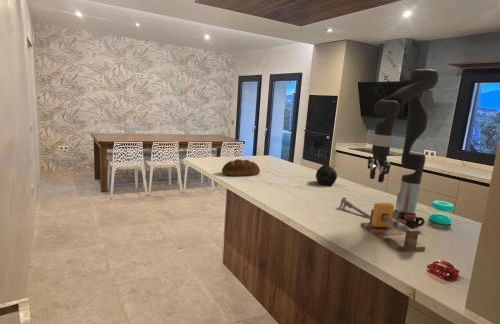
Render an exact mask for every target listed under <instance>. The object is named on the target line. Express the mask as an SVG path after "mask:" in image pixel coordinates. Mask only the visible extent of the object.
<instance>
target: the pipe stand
mask: <svg viewBox="0 0 500 324" xmlns="http://www.w3.org/2000/svg"><path fill="white" fill-rule="evenodd" d="M373 210H374V208H372V209H371V212H370V215H371V217H370V218H369V222H361V224H360V226H361V227H362V228H363V229H365V230H367V231H368V232H369V233H370V234H373V235H374V236H376V237H377V238H378V239H380V240H381V241H383V242H384V243H385V244H388V245H389V246H390V247H392V248H393V249H394V250H395V251H398V252H399V253H401V252H414V251H415V252H418V251H420V252H421V251H425V250H426V246H425V245H423V244H421V243H420V242H418V236H419V232H420V231H419V230H418V229H417V228H415V229H411V228H409V227H407V226H405V225H403V224H404V223H401V222H400V221H399V220H396V219H394V218H393V217H392V218H391V217H389V216H387V215H385V214H382V216H381V218H382V219H383V220H385V221H387V222H388V223H390V224H391V226H386V227H375V226H373V225H372V224H371V223H372V216H373ZM394 227H395V228H394ZM396 228H397V229H396ZM398 229H399V230H401V231H402V232H401V231H399V230H398ZM403 232H404V233H403Z"/></svg>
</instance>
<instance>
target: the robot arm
mask: <svg viewBox="0 0 500 324" xmlns="http://www.w3.org/2000/svg"><path fill="white" fill-rule="evenodd" d="M438 80H439V73H438V71H436V70H435V69H431V68H430V69H428V68H427V69H425V68H424V69H423V68H422V69H421V68H419V69H414V70H413V71H412V72H411V74H410V79H409V85H408V84H407V85H405V86H403V87H400V88H399V89H398V90H396V91H395V92H394V93H393V94H391V95H388V96H385V97H384V98H381V99H379V100H378V101H377V102H376V103H375V104H374V108H373V109H374V110H373V111H374V113H375V114H376V115H377V116H380V117H385V119H384V120H381V121H378V122H376V124H375V129H374V130H375V131H374V136H373V138H372V139H373V141H372V147H371V156H370V155H369V156H367V157H368V158H367V169H368V170H369V171H370V172H369V179H370V180H375V178H376V172H377V171H376V170H377V169H378V173H379V174H378V178H377V179H378V180H377V182H378V183H384V181H385V175H388V174H389V173H390V169H391V166H392V161H391V160H388V158H387V157H388V156H390V152H391V151H390V150H391V144H392V135H393V134H392V133H393V128H394V125H395V122H396V120H397V118H398V117H399V114H400V110H401V108H402V107H403V106H405V105H406V104H407V103H408V108H407V109H408V111H407V116H406V124H405V125H406V127H405V139H404V145H403V149H402V154H401V161H400V162H401V167H402V168H404V169H407V170H408V169H409V170H412V171H413V170H414V172H413V173H408V174H403V175H402V176H401V180H400V187H399V192H398V193H397V197H396V202H395V203H396V204H395V207H394V208H395V209H394V210H396V212H398V214H399V213H400V212H411V213H415V214H416V210H417V204H418V199H419V193H420V188H421V187H420V186H421V182H422V177H423V172H424V167H425V162H426V155H425V153H422V152H418V151H417V152H416V151H411V149H412V147H413V145H414V144H415V142H416V141H417V140H418V139H419V138H420V137H421V135H423V133H424V132H425V131H426V129H427V125H428V117H429V116H428V112H427V109H426V107H425V106H424V103H423V101H422V99H421V94H424V93H425V92H427V91H429V90H432V89H433V88H435V87H436V85H437V83H438Z"/></svg>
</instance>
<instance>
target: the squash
mask: <svg viewBox="0 0 500 324" xmlns="http://www.w3.org/2000/svg"><path fill="white" fill-rule="evenodd" d="M315 179H316V180H317V184H321V185H327V186H329V185H330V186H331V185H334V184H335V183H336V180H337V179H338V174H337V171H336V170H335V169H334V168H333V167H331V166H330V165H328V164H326V163H325V164H322V166H320V167H319V168H318V169H317V171H316V173H315Z"/></svg>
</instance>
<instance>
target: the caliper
mask: <svg viewBox="0 0 500 324" xmlns="http://www.w3.org/2000/svg"><path fill="white" fill-rule="evenodd" d="M339 205H340V206H339V207H340V208H343V209H345V208H346V207H347V208H349V209H353V210H354V211H356V212H358V213H359V214H361V215H362V216H364V217H366V218H367V219H370V217H371V214H369V213H367V212H366V211H364V210H362V209H360V208H359V207H357V206H356V205H354V204H353V203H352V202H350V201H349V200H347V197H345V196H343V197H342V198H341V200H340V203H339Z"/></svg>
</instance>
